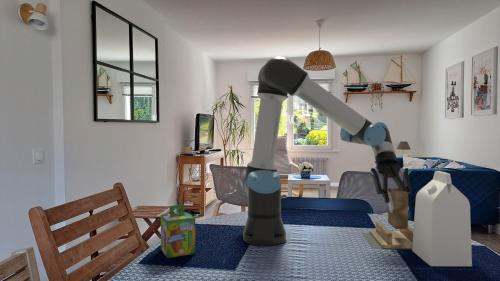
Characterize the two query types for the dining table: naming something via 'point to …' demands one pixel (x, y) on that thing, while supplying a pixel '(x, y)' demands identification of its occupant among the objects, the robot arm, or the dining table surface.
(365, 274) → the dining table surface
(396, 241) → the rack
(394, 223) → the brown wooden block
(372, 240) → the mat
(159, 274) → the dining table surface
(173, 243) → the chalk box
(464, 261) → the milk
